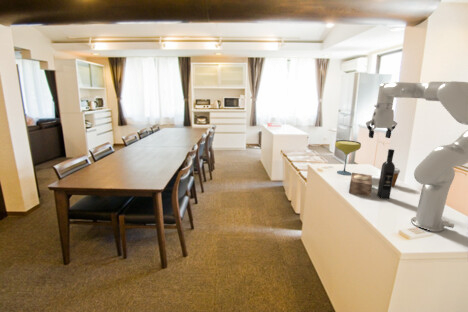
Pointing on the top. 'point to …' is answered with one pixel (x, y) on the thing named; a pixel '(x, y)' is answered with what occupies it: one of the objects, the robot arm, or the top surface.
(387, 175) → the wine bottle
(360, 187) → the brown rectangular block
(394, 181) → the disposable coffee cup
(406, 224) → the top surface
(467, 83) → the robot arm
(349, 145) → the cocktail glass
